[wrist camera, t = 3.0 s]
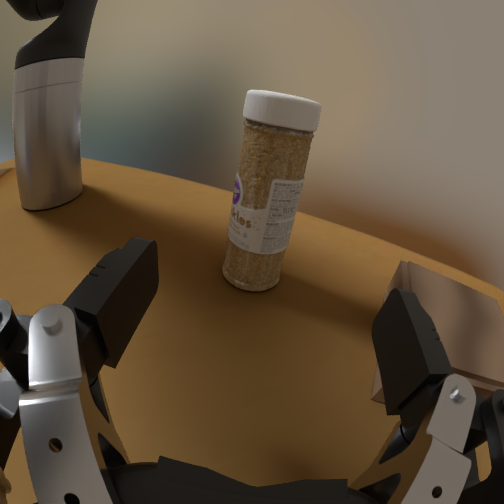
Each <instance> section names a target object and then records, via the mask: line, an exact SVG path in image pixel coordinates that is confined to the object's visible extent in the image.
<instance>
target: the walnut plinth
mask: <svg viewBox="0 0 504 504" xmlns="http://www.w3.org/2000/svg"><path fill="white" fill-rule="evenodd" d="M394 288H398V289H403V290H409V291H413V292H415V294H416V296H417V298H418V300H419V302H420V304H421V306H422V307H423V308H424V310H425V311H426V312H427V313H428V314H429V316H430V317H431V318H432V320H433V323H434V325H435V327H436V332H438V334H439V336H440V341H442V344H443V346H444V349H445V351H446V354H447V356H448V359H449V362H450V364H451V367H452V370H453V373H454V374H457V375H461V376H463V377H464V378H466V379H467V380H468V381H469V382H470V383H471V385H472V386H473V388H474V391H475V394H476V395H479V396H482V397H486V398H488V397H489V396H490V395H491V394H492V393H493V392H494V391H495V390H497V389H503V390H504V317H503V314H502V312H501V309H500V307H499V304H498V302H497V300H496V299H494V298H492V297H489V296H487V295H485V294H483V293H481V292H479V291H477V290H474V289H472V288H470V287H468V286H466V285H463V284H461V283H459V282H457V281H454V280H452V279H450V278H447V277H445V276H443V275H440V274H438V273H436V272H433V271H431V270H429V269H426V268H424V267H422V266H419V265H417V264H414V263H412V262H408V263H407V262H404V261H402V260H401V262H400V264H399V266H398V268H397V270H396V272H395V274H394V276H393V278H392V280H391V282H390V284H389V286H388V288H387V290H386V292H385V294H384V302H385V300H386V299H387V297H388V295H389V293H390V291H391V290H392V289H394ZM371 399H372V400H375V401H379V402H382V403H385V399H384V393H383V388H382V382H381V377H380V372H379V367H378V362H377V367H376V373H375V379H374V385H373V391H372V396H371Z"/></svg>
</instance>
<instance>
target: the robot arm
mask: <svg viewBox="0 0 504 504" xmlns="http://www.w3.org/2000/svg"><path fill="white" fill-rule="evenodd" d="M6 1H7V2H8V3H9V4H10V5H11V7H12V8H13V9H14V10H15V11H16V12H17V13H18V14H19V15H20V16H21V17H22V18H24V19H26V20H29V21H38V20H43V19H47V18H51V17H55V16H59V17H58V18H57V19H56V20H55V21H54V22H53V23H52V24H51V25H50V26H49V27H48V28H47V29H45V30H44V31H43V32H42V33H40V34H39V35H37V36H36V37H34V38H33V39H31V40H30V41H28V42H27V43H25V44H24V45H23V46H22V47H21V48H20V49H19V51H18V53H17V56H16V62H15V72H14V84H13V141H14V155H15V165H16V174H17V182H18V188H19V194H20V200H21V205H22V207H23V208H25V209H29V210H42V209H48V208H52V207H56V206H59V205H62V204H64V203H66V202H69V201H71V200H72V199H74V198H76V197H77V196H78V195H79V194H80V193H81V192H82V190H83V187H82V174H81V152H80V110H81V90H82V76H83V67H84V58H85V50H86V45H87V40H88V37H89V32H90V27H91V22H92V18H93V14H94V11H95V7H96V4H97V1H98V0H6ZM158 283H159V274H158V254H157V244H156V241H154V240H149V239H144V238H139V237H133V238H131V239H130V241H129V242H128V243H127V244H126V245H125V246H124V247H123V248H122V249H119V248H117V249H115V250H114V251H112V252H110V253H108V254H106V255H105V256H104V257H103V258H102V259H101V260H100V261H99V262H98V263H97V265H96V267H94V268H93V269H92V270H91V271H90V272H89V275H87V276H86V277H85V278H84V279H83V280H82V282H81V283H80V284H79V285H78V286H77V287H76V289H75V290H74V291H73V292H72V293H71V295H70V296H69V297H68V298H67V300H66V301H65V302H64V303H63V304H62V305H60V304H53V305H48V306H46V307H44V308H42V309H40V310H39V311H38V312H37V313H36V314H35V315H34V316H27V315H18V314H15V313H14V311H13V309H12V307H11V305H10V303H9V302H8V301H6V300H4V299H0V361H1V363H2V364H3V365H4V368H3V369H2V371H1V373H0V504H7V500H6V494H9V493H10V492H11V484H10V482H9V480H8V479H7V478H5V475H4V472H3V471H4V468H5V465H6V462H7V459H8V457H9V454H10V451H11V448H12V446H13V443H14V441H15V438H16V436H17V433H18V431H19V428H20V426H21V428H22V435H23V442H24V448H25V453H26V458H27V463H28V468H29V472H30V476H31V480H32V484H33V488H34V491H35V494H36V498H37V501H38V502H37V503H34V504H504V390H503V389H497V390H495V391H494V392H493V393H492V394H491V395H490V396H489V397H488V398H486V397H482V396H479V395H476V394H475V391H474V388H473V386H472V385H471V383H470V382H469V381H468V380H467V379H466V378H464V377H463V376H461V375H457V374H454V373H453V370H452V367H451V364H450V362H449V359H448V356H447V354H446V351H445V349H444V346H443V344H442V341H440V336H439V334H438V332H436V327H435V325H434V323H433V320H432V318H431V317H430V316H429V314H428V313H427V312H426V311H425V310H424V308H423V307H422V306H421V304H420V302H419V300H418V298H417V296H416V294H415V292H413V291H409V290H403V289H398V288H394V289H392V290H391V291H390V293H389V295H388V297H387V299H386V300H385V302H384V304H383V306H382V308H381V309H380V311H379V313H378V315H377V316H376V318H375V320H374V322H373V326H372V339H373V344H374V348H375V353H376V357H377V362H378V367H379V372H380V377H381V382H382V388H383V393H384V399H385V405H386V412H387V415H400V418H401V420H400V421H398V422H397V424H396V425H395V427H394V428H393V430H392V432H391V434H390V435H389V437H388V439H387V441H386V442H385V444H384V446H383V447H382V449H381V450H380V452H379V454H378V455H377V457H376V458H375V460H374V461H373V463H372V464H371V466H370V467H369V468H368V469H367V470H366V471H365V472H364V473H362V474H361V475H360V476H359V477H358V478H357V479H356V480H355V481H354V482H353V483H352V484H351V486H350V487H347V479H332V480H300V481H295V482H290V483H284V484H277V485H270V486H262V487H254V486H250V485H247V484H244V483H242V482H239V481H237V480H234V479H231V478H229V477H227V476H224V475H222V474H219V473H217V472H215V471H213V470H210V469H208V468H205V467H201V466H196V465H192V464H188V463H184V462H180V461H177V460H173V459H170V458H166V457H163V456H160V457H159V460H158V463H156V462H139V463H130V461H129V459H128V456H127V454H126V451H125V449H124V446H123V444H122V442H121V440H120V438H119V436H118V434H117V432H116V430H115V427H114V424H113V421H112V418H111V415H110V411H109V408H108V404H107V401H106V397H105V393H104V389H103V385H102V381H101V377H100V374H99V372H100V370H101V368H102V366H103V364H104V365H107V366H109V367H112V368H116V366H117V364H118V362H119V360H120V358H121V356H122V354H123V353H124V351H125V349H126V347H127V345H128V343H129V341H130V339H131V338H132V336H133V334H134V332H135V330H136V328H137V326H138V325H139V323H140V321H141V319H142V317H143V316H144V314H145V312H146V310H147V309H148V307H149V305H150V303H151V302H152V300H153V298H154V296H155V294H156V292H157V288H158ZM485 441H488V446H489V452H490V459H491V466H492V469H491V473H490V475H489V476H488V478H487V479H486V480H484V481H482V482H480V480H479V477H478V467H477V460H476V453H475V448H476V447H478V446H479V445H481V444H482V443H484V442H485Z"/></svg>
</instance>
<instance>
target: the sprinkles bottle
mask: <svg viewBox="0 0 504 504" xmlns="http://www.w3.org/2000/svg"><path fill="white" fill-rule="evenodd" d="M320 112H321V105H320V104H319V103H318V102H315V101H312V100H310V99H306V98H302V97H298V96H293V95H288V94H283V93H278V92H271V91H265V90H250V91H248V92H247V95H246V100H245V105H244V111H243V117H244V118H245V119H246V121H244V125H245V128H244V134H243V141H242V147H241V153H240V160H239V167H238V172H237V175H236V181H235V188H234V194H233V202H232V209H231V215H230V221H229V228H228V242H227V249H226V257H225V261H224V263H223V267H222V270H223V275H224V276H225V278H226V279H227V280H228V281H229V282H230V283H231V284H233V285H234V286H236V287H238V288H240V289H244V290H247V291H264V290H267V289H269V288H272V287H274V286H275V285H276V284H277V283H278V281H279V278H280V269H281V265H282V261H283V257H284V253H285V250H286V247H287V245H288V242H289V238H290V235H291V231H292V227H293V223H294V218H295V214H296V211H297V207H298V202H299V198H300V194H301V190H302V185H303V181H304V173H305V169H306V164H307V160H308V155H309V150H310V144H311V141H312V138H313V137H314V135H313V132H314V131H316V130H317V127H318V123H319V118H320Z"/></svg>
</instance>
